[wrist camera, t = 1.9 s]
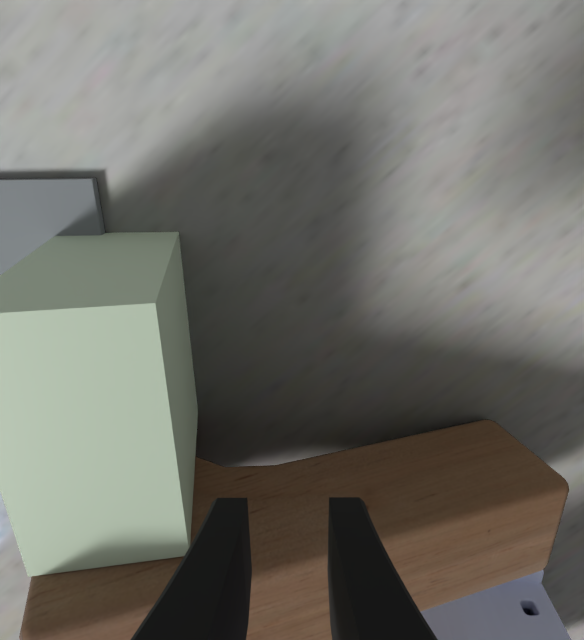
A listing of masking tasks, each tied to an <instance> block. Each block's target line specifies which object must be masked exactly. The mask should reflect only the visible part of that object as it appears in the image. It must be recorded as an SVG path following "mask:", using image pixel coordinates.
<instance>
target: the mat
mask: <svg viewBox="0 0 584 640" xmlns="http://www.w3.org/2000/svg"><path fill="white" fill-rule="evenodd" d="M104 233H105V228H104V222H103V216H102V210H101V204H100V198H99V192H98V186H97V181H96V178H46V179H0V275H2V274H3V273H4V272H6V271H7V270H8V269H10V268H11V267H13V266H14V265H15V264H17V263H18V262H19V261H21V260H22V259H24V258H25V257H26V256H28V255H29V254H31V253H32V252H33V251H35V250H36V249H37V248H39V247H40V246H42V245H43V244H44V243H46V242H47V241H48V240H50V239H51V238H53V237H54V236H92V235H103V234H104Z"/></svg>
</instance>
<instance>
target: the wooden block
mask: <svg viewBox="0 0 584 640" xmlns="http://www.w3.org/2000/svg"><path fill="white" fill-rule="evenodd" d="M568 492H569V486H568V483H567V482H566V480H565V479H564V478H563V477H562V476H561V475H559V474H558V473H557V472H556V471H555V470H553V469H552V468H551V467H550V466H548V465H547V464H546V463H545V462H544V461H542V460H541V459H540V458H539V457H537V456H536V455H535V454H534V453H533V452H531V451H530V450H529V449H528V448H526V447H525V446H524V445H523V444H522V443H520V442H519V441H518V440H517V439H515V438H514V437H513V436H512V435H511V434H509V433H508V432H507V431H506V430H504V429H503V428H502V427H501V426H500V425H498V424H497V423H496V422H494V421H491V420H486V419H485V420H480V421H476V422H471V423H467V424H462V425H457V426H453V427H448V428H444V429H439V430H435V431H430V432H425V433H421V434H416V435H412V436H407V437H402V438H398V439H393V440H389V441H384V442H380V443H375V444H370V445H366V446H361V447H357V448H352V449H348V450H343V451H338V452H334V453H329V454H325V455H320V456H316V457H311V458H306V459H302V460H297V461H293V462H288V463H284V464H279V465H270V466H243V467H223V466H220V465H217V464H215V463H212V462H209V461H206V460H204V459H201V458H198V457H196V456H195V472H194V489H193V506H192V523H191V540H190V545H191V543H192V542H193V540H194V538H195V536H196V534H197V533H198V531H199V529H200V527H201V525H202V523H203V521H204V519H205V517H206V515H207V513H208V511H209V508H210V506H211V504H212V502H213V501H214V500H216V499H217V498H247V501H248V516H249V532H250V547H251V562H252V578H251V593H250V608H249V622H248V630H247V636H246V640H332V634H331V626H330V610H329V591H328V571H327V567H328V520H329V497H360V498H361V499H362V500H363V501H364V502H365V505H366V508H367V511H368V513H369V515H370V518H371V520H372V523H373V525H374V527H375V529H376V531H377V533H378V536H379V538H380V540H381V542H382V544H383V546H384V548H385V550H386V552H387V554H388V556H389V558H390V560H391V561H392V563H393V565H394V567H395V569H396V571H397V572H398V574H399V576H400V578H401V579H402V581H403V583H404V585H405V587H406V588H407V590H408V592H409V594H410V595H411V597H412V599H413V601H414V602H415V604H416V606H417V607H418V609H419V610H420V612H421V611H424V610H427V609H430V608H433V607H436V606H439V605H441V604H444V603H447V602H450V601H453V600H456V599H459V598H462V597H465V596H468V595H471V594H474V593H477V592H480V591H483V590H486V589H489V588H492V587H494V586H497V585H500V584H503V583H506V582H509V581H512V580H515V579H518V578H521V577H524V576H527V575H530V574H533V573H536V572H539V571H541V570H542V569H544V568H545V567H546V565H547V564H548V562H549V558H550V555H551V551H552V548H553V544H554V541H555V537H556V534H557V530H558V527H559V523H560V520H561V516H562V513H563V509H564V506H565V502H566V499H567V496H568ZM183 558H184V556H182V557H175V558H167V559H159V560H152V561H144V562H137V563H129V564H122V565H114V566H107V567H99V568H91V569H84V570H76V571H69V572H61V573H54V574H46V575H39V576H32V577H31V582H30V587H29V592H28V597H27V602H26V606H25V611H24V616H23V621H22V626H21V631H20V636H19V638H20V640H131V638H132V637H133V635H134V634H135V632H136V631H137V629H138V628H139V626H140V625H141V623H142V622H143V620H144V619H145V618H146V616H147V615H148V613H149V612H150V610H151V609H152V607H153V606H154V604H155V603H156V601H157V600H158V598H159V597H160V595H161V594H162V592H163V590H164V589H165V587H166V586H167V584H168V582H169V581H170V579H171V577H172V576H173V574H174V572H175V571H176V569H177V567H178V566H179V564H180V563H181V561H182V559H183Z"/></svg>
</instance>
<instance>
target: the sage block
mask: <svg viewBox="0 0 584 640" xmlns="http://www.w3.org/2000/svg"><path fill="white" fill-rule="evenodd" d="M197 421H198V406H197V397H196V388H195V378H194V369H193V360H192V351H191V341H190V332H189V323H188V313H187V304H186V295H185V286H184V276H183V267H182V258H181V249H180V239H179V232H121V233H104V234H103V235H92V236H54V237H53V238H51V239H50V240H48V241H47V242H46V243H44V244H43V245H42V246H40V247H39V248H37V249H36V250H35V251H33V252H32V253H31V254H29V255H28V256H26V257H25V258H24V259H22V260H21V261H19V262H18V263H17V264H15V265H14V266H13V267H11V268H10V269H8V270H7V271H6V272H4V273H3V274H2V275H0V492H1V495H2V498H3V501H4V504H5V507H6V510H7V513H8V516H9V519H10V522H11V525H12V528H13V532H14V535H15V538H16V541H17V544H18V547H19V550H20V553H21V556H22V559H23V562H24V565H25V568H26V571H27V575H28V577H31V576H39V575H46V574H54V573H61V572H69V571H76V570H84V569H91V568H99V567H107V566H114V565H122V564H129V563H137V562H144V561H152V560H159V559H167V558H175V557H182V556H185V554H186V552H187V551H188V549H189V547H190V540H191V523H192V506H193V489H194V472H195V455H196V438H197Z"/></svg>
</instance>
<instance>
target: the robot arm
mask: <svg viewBox="0 0 584 640" xmlns="http://www.w3.org/2000/svg"><path fill="white" fill-rule="evenodd" d="M327 571H328V591H329V610H330V626H331V634H332V640H571V638H570V636H569V634H568V633H567V631H566V629H565V627H564V625H563V623H562V621H561V619H560V617H559V615H558V614H557V612H556V610H555V608H554V606H553V604H552V602H551V600H550V598H549V596H548V595H547V593H546V591H545V589H544V587H543V585H542V583H541V582H542V579H543V575H544V571H543V569H542V570H541V571H539V572H536V573H533V574H530V575H527V576H524V577H521V578H518V579H515V580H512V581H509V582H506V583H503V584H500V585H497V586H494V587H492V588H489V589H486V590H483V591H480V592H477V593H474V594H471V595H468V596H465V597H462V598H459V599H456V600H453V601H450V602H447V603H444V604H441V605H439V606H436V607H433V608H430V609H427V610H424V611H421V612H420V610H419V609H418V607H417V606H416V604H415V602H414V601H413V599H412V597H411V595H410V594H409V592H408V590H407V588H406V587H405V585H404V583H403V581H402V579H401V578H400V576H399V574H398V572H397V571H396V569H395V567H394V565H393V563H392V561H391V560H390V558H389V556H388V554H387V552H386V550H385V548H384V546H383V544H382V542H381V540H380V538H379V536H378V533H377V531H376V529H375V527H374V525H373V523H372V520H371V518H370V515H369V513H368V511H367V508H366V505H365V502H364V501H363V500H362V499H361V498H360V497H329V520H328V567H327ZM251 578H252V562H251V547H250V532H249V516H248V501H247V498H217V499H216V500H214V501H213V502H212V504H211V506H210V508H209V511H208V513H207V515H206V517H205V519H204V521H203V523H202V525H201V527H200V529H199V531H198V533H197V534H196V536H195V538H194V540H193V542H192V543H191V545H190V547H189V549H188V551H187V552H186V554H185V556H184V558H183V559H182V561H181V563H180V564H179V566H178V567H177V569H176V571H175V572H174V574H173V576H172V577H171V579H170V581H169V582H168V584H167V586H166V587H165V589H164V590H163V592H162V594H161V595H160V597H159V598H158V600H157V601H156V603H155V604H154V606H153V607H152V609H151V610H150V612H149V613H148V615H147V616H146V618H145V619H144V620H143V622H142V623H141V625H140V626H139V628H138V629H137V631H136V632H135V634H134V635H133V637H132V638H131V640H246V636H247V630H248V622H249V608H250V593H251Z"/></svg>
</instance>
